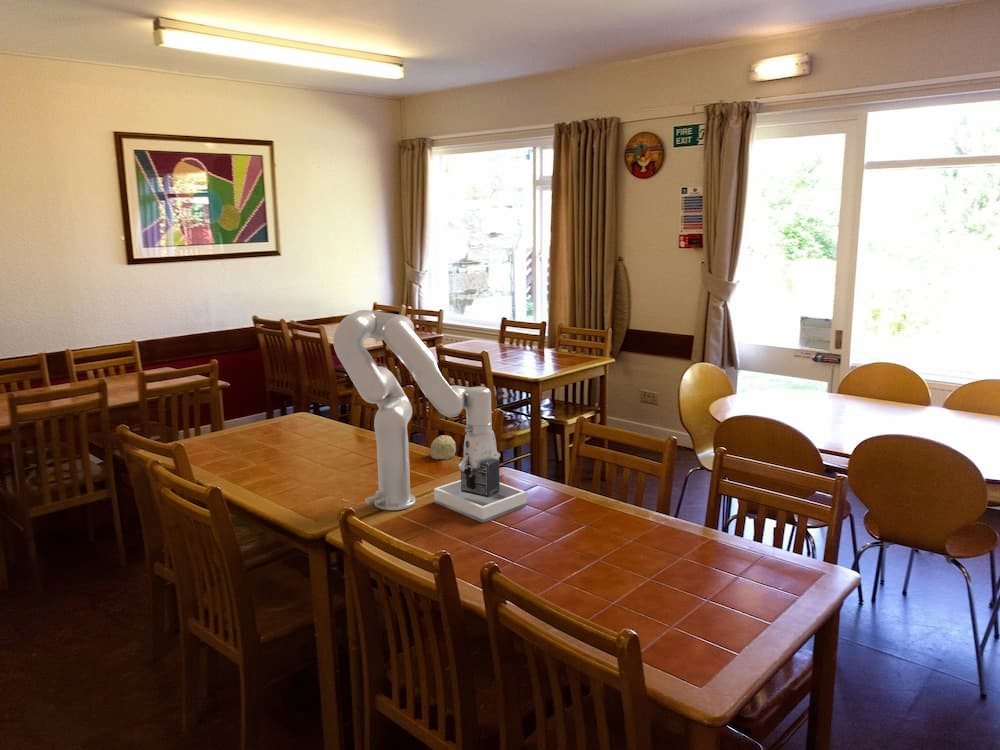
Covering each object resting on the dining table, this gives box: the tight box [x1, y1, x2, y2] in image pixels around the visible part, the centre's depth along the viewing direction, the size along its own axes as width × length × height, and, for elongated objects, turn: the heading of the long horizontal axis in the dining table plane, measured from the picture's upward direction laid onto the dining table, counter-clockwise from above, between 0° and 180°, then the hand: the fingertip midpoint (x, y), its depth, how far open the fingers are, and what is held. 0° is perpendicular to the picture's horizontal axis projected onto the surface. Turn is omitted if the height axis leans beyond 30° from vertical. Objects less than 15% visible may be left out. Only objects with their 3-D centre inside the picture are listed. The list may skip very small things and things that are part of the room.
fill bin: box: [433, 479, 527, 524], centre depth 217 cm, size 18×22×4 cm
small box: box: [460, 457, 500, 498], centre depth 216 cm, size 11×6×10 cm, turn 56°
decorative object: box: [430, 434, 457, 460], centre depth 263 cm, size 9×10×10 cm
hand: (480, 484), depth 217 cm, fingers closed on small box, 7 cm apart
